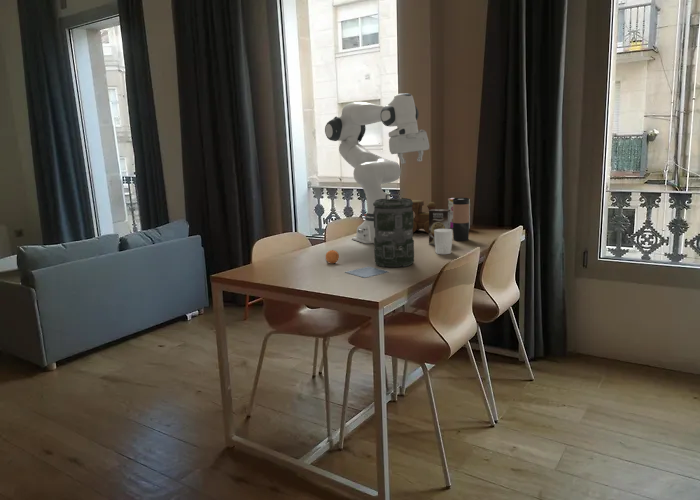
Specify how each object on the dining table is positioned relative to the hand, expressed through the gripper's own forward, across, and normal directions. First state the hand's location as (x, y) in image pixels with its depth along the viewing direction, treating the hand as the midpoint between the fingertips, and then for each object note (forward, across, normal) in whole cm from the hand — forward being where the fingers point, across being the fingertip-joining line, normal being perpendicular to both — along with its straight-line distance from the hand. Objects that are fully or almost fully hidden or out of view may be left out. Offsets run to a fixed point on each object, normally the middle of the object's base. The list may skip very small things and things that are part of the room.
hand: (411, 162), depth 236 cm
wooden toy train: (+37, -29, -34) cm, 58 cm away
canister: (+39, +27, +14) cm, 50 cm away
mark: (+39, +43, +18) cm, 61 cm away
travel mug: (+40, -28, -4) cm, 49 cm away
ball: (+34, +45, -3) cm, 56 cm away
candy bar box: (+39, -49, -27) cm, 68 cm away
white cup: (+41, -1, +12) cm, 42 cm away
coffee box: (+40, -14, -4) cm, 42 cm away
